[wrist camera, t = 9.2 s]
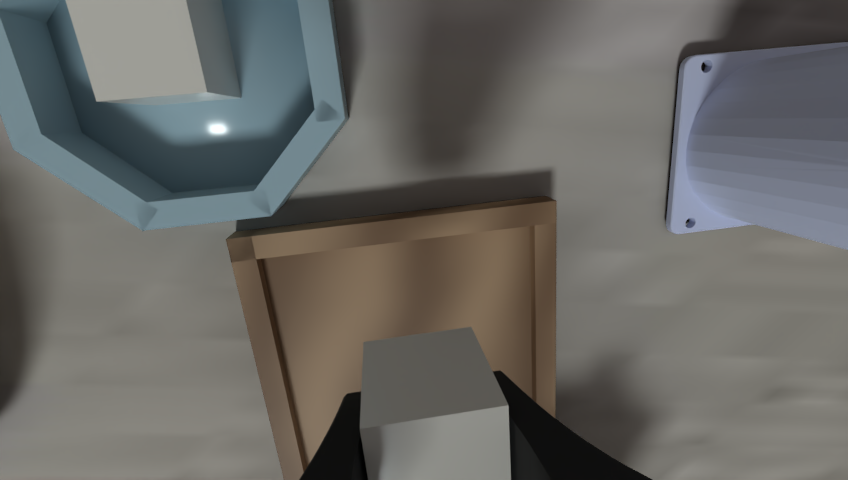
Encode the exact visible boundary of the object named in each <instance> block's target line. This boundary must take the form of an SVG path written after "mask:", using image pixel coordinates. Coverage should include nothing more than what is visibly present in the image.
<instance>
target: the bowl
mask: <svg viewBox="0 0 848 480" xmlns="http://www.w3.org/2000/svg"><path fill="white" fill-rule="evenodd" d="M222 5H223V10H224V15H225V20H226V25H227V29H228V34H229V39H230V44H231V49H232V54H233V58H234V63H235V68H236V73H237V78H238V83H239V87H240V92H241V97H242V98H237V99H225V100H213V101H202V102H190V103H178V104H167V105H141V104H125V103H110V102H96V98H95V95H94V92H93V89H92V85H91V82H90V79H89V76H88V72H87V69H86V66H85V62H84V59H83V56H82V53H81V49H80V46H79V43H78V40H77V36H76V33H75V30H74V27H73V23H72V20H71V17H70V13H69V10H68V7H67V4H66V0H0V115H1V118H2V120H3V123H4V126H5V128H6V131H7V134H8V136H9V139H10V142H11V144H12V147H13V150H15V151H16V152H18V153H20V154H21V155H23V156H24V157H26V158H28V159H29V160H31V161H32V162H34V163H36V164H37V165H39V166H40V167H42V168H44V169H45V170H47V171H48V172H50V173H52V174H53V175H55V176H56V177H58V178H59V179H61V180H63V181H64V182H66V183H67V184H69V185H71V186H72V187H74V188H75V189H77V190H79V191H80V192H82V193H83V194H85V195H87V196H88V197H90V198H91V199H93V200H95V201H96V202H98V203H99V204H101V205H103V206H104V207H106V208H107V209H109V210H111V211H112V212H114V213H115V214H117V215H118V216H120V217H122V218H123V219H125V220H126V221H128V222H130V223H131V224H133V225H134V226H136V227H138V228H139V229H141V230H142V231H144V230H152V229H161V228H170V227H179V226H188V225H197V224H205V223H214V222H223V221H232V220H241V219H250V218H259V217H268V216H270V217H271V216H272V215H273V214H274V213H275V212H276V211H277V210H278V209H279V208H280V207H281V206H282V205H284V204H285V202H286V201H287V199H288V198H289V197H290V195H291V194H292V193H293V192H294V190H295V189H296V188H297V186H298V185H299V184H300V182H301V181H302V180H303V178H304V177H305V176H306V174H307V173H308V172H309V171H310V169H311V168H312V167H313V165H314V164H315V163H316V161H317V160H318V159H319V157H320V156H321V155H322V153H323V152H324V151H325V150H326V148H327V147H328V146H329V144H330V143H331V142H332V140H333V139H334V138H335V136H336V135H337V134H338V132H339V131H340V130H341V129H342V127H343V126H344V125H345V123H346V122H347V121H348V119H349V117H348V110H347V103H346V96H345V88H344V81H343V74H342V67H341V59H340V52H339V45H338V37H337V30H336V23H335V16H334V8H333V1H332V0H222Z"/></svg>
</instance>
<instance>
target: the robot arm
mask: <svg viewBox="0 0 848 480" xmlns="http://www.w3.org/2000/svg"><path fill="white" fill-rule="evenodd" d="M703 62H704V63H705V70H704V71H702V70H701V65H702V63H703ZM688 219H689V220H690V221H689V223H688V224H687V225H685V223H686V221H687V220H688ZM753 224H755V225H759V226H762V227H766V228H770V229H773V230H777V231H781V232H784V233H788V234H792V235H795V236H799V237H803V238H806V239H810V240H814V241H817V242H821V243H825V244H828V245H832V246H836V247H839V248H843V249H847V250H848V42H841V43H829V44H817V45H806V46H794V47H782V48H771V49H759V50H747V51H736V52H724V53H712V54H700V55H693V56H689V57H687V58H685V59H684V60H683V61H682V63H681V65H680V69H679V79H678V91H677V102H676V114H675V126H674V137H673V149H672V160H671V172H670V184H669V195H668V207H667V219H666V227H667V229H668V230H669V231H670V232H673V233H675V234H682V233H690V232H698V231H706V230H713V229H721V228H729V227H737V226H745V225H753ZM493 374H494V376H495V378H496V380H497V382H498V384H499V386H500V388H501V390H502V393H503V395H504V397H505V399H506V401H507V403H508V406H509V434H510V463H511V480H652V479H650V478H648V477H646V476H644V475H642V474H641V473H639V472H637V471H635V470H633V469H631V468H629V467H627V466H626V465H624V464H622V463H620V462H619V461H617V460H615V459H614V458H612V457H610V456H609V455H607V454H605V453H604V452H602V451H601V450H599V449H598V448H596V447H594V446H593V445H591V444H590V443H588V442H587V441H585V440H584V439H582V438H581V437H579V436H578V435H576V434H575V433H574V432H572V431H571V430H570V429H568V428H567V427H566V426H564V425H563V424H562V423H560V422H559V421H558V420H557V419H555V418H554V417H553V416H552V415H550V414H549V413H548V412H547V411H546V410H544V409H543V408H542V407H541V406H540V405H538V404H537V403H536V402H535V401H534V400H533V399H531V398H530V397H529V396H528V395H527V394H526V393H525V392H524V391H522V390H521V389H520V388H519V387H518V386H517V385H516V384H515V383H514V382H513V381H512V380H511V379H510V378H508V377H507V376H506V375H505V374H504V373H503V372H502V371H500V370H499V371H493ZM360 409H361V391H360V392H353V393H347V394H346V395H345V396H344V398H343V400H342V403H341V405H340V407H339V409H338V412H337V414H336V416H335V418H334V420H333V422H332V424H331V426H330V428H329V430H328V432H327V434H326V435H325V437H324V439H323V441H322V443H321V445H320V446H319V448H318V450H317V452H316V453H315V455H314V457H313V458H312V460H311V462H310V463H309V465H308V466H307V468H306V470H305V471H304V473H303V474H302V476H301V478H300V479H299V480H368V476H367V470H366V464H365V458H364V452H363V446H362V440H361V434H360Z"/></svg>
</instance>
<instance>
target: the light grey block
mask: <svg viewBox="0 0 848 480" xmlns="http://www.w3.org/2000/svg"><path fill="white" fill-rule="evenodd" d="M66 4H67V7H68V10H69V13H70V17H71V20H72V23H73V27H74V30H75V33H76V36H77V40H78V43H79V46H80V49H81V53H82V56H83V59H84V62H85V66H86V69H87V72H88V76H89V79H90V82H91V85H92V89H93V92H94V95H95V98H96V102H110V103H125V104H141V105H167V104H178V103H190V102H202V101H213V100H225V99H237V98H242V97H241V92H240V87H239V83H238V78H237V73H236V68H235V63H234V58H233V54H232V49H231V44H230V39H229V34H228V29H227V25H226V20H225V15H224V10H223V5H222V0H66Z"/></svg>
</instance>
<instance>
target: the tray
mask: <svg viewBox="0 0 848 480" xmlns="http://www.w3.org/2000/svg"><path fill="white" fill-rule="evenodd" d="M226 242H227V246H228V250H229V254H230V258H231V262H232V267H233V271H234V275H235V279H236V283H237V287H238V291H239V296H240V300H241V304H242V308H243V312H244V316H245V320H246V324H247V329H248V333H249V337H250V341H251V345H252V349H253V353H254V358H255V362H256V366H257V370H258V374H259V378H260V382H261V387H262V391H263V395H264V399H265V403H266V407H267V411H268V415H269V420H270V424H271V428H272V432H273V436H274V440H275V444H276V449H277V453H278V457H279V461H280V465H281V469H282V473H283V478H284V480H299V479H300V478H301V476H302V474H303V473H304V471H305V470H306V468H307V466H308V465H309V463H310V462H311V460H312V458H313V457H314V455H315V453H316V452H317V450H318V448H319V446H320V445H321V443H322V441H323V439H324V437H325V435H326V434H327V432H328V430H329V428H330V426H331V424H332V422H333V420H334V418H335V416H336V414H337V412H338V409H339V407H340V405H341V403H342V400H343V398H344V396H345V395H346V394H347V393H353V392H360V391H361V387H362V364H363V342H367V341H374V340H381V339H388V338H395V337H402V336H409V335H416V334H423V333H431V332H438V331H445V330H452V329H459V328H466V327H472V329H473V331H474V333H475V335H476V338H477V340H478V342H479V344H480V346H481V348H482V350H483V352H484V355H485V357H486V359H487V361H488V363H489V365H490V367H491V369H492V371H499V370H500V371H502V372H503V373H504V374H505V375H506V376H507V377H508V378H510V379H511V380H512V381H513V382H514V383H515V384H516V385H517V386H518V387H519V388H520V389H521V390H522V391H524V392H525V393H526V394H527V395H528V396H529V397H530V398H531V399H533V400H534V401H535V402H536V403H537V404H538V405H540V406H541V407H542V408H543V409H544V410H546V411H547V412H548V413H549V414H550V415H552V416H553V417H554V418H555V389H556V200H553V199H551V198H549V197H547V196H541V197H532V198H523V199H515V200H506V201H497V202H488V203H480V204H471V205H462V206H454V207H445V208H436V209H428V210H419V211H410V212H402V213H393V214H384V215H375V216H367V217H358V218H349V219H341V220H332V221H323V222H315V223H306V224H297V225H289V226H280V227H271V228H262V229H254V230H245V231H236V232H234V233H233V234H232V235H231V236H229V237H228V238H227V239H226Z"/></svg>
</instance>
